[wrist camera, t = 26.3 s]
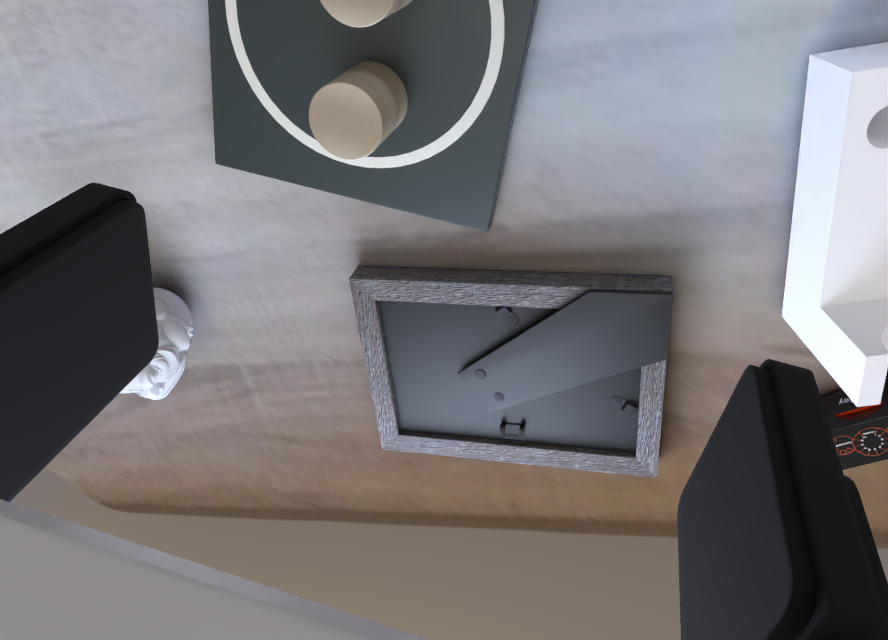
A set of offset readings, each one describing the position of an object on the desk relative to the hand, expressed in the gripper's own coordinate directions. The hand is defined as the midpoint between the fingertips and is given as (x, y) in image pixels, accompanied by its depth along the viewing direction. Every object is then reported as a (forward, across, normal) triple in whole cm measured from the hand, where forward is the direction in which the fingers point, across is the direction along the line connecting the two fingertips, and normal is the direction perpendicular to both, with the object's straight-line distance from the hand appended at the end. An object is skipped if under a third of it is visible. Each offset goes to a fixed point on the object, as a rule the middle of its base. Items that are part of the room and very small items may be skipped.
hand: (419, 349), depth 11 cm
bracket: (+26, -16, +4) cm, 31 cm away
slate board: (+26, +10, +2) cm, 28 cm away
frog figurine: (+26, +22, +23) cm, 41 cm away
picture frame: (+26, -1, +20) cm, 33 cm away
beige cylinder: (+25, +9, +5) cm, 27 cm away
